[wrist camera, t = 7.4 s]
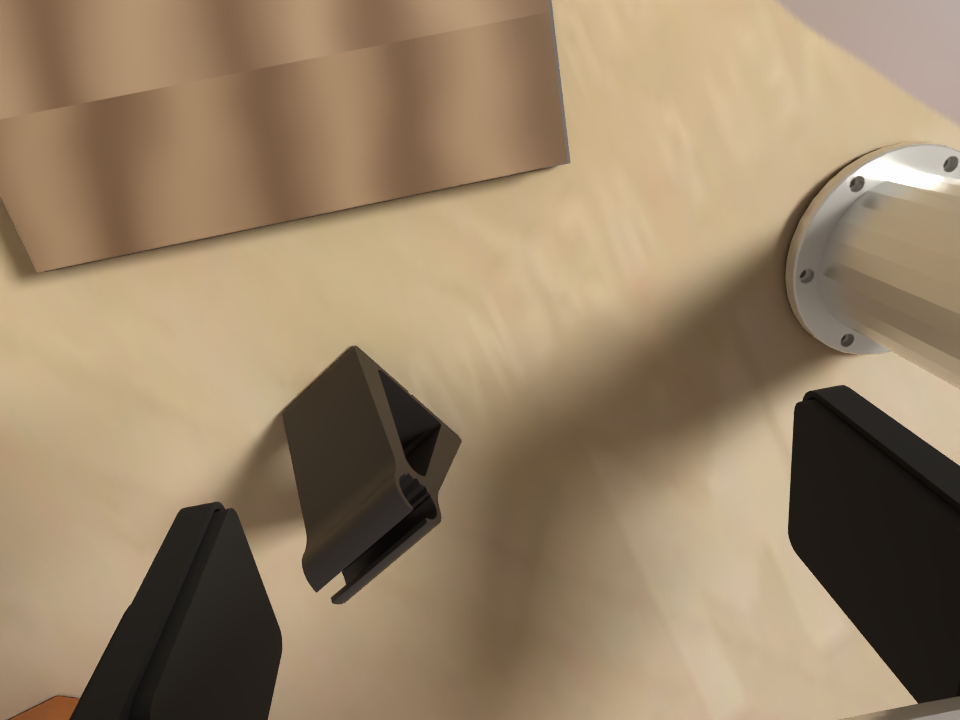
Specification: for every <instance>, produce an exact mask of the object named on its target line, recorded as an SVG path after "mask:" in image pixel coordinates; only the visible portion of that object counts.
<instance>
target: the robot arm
mask: <svg viewBox="0 0 960 720" xmlns="http://www.w3.org/2000/svg"><path fill="white" fill-rule="evenodd" d="M785 281H786V288H787V296H788V300H789V302H790V305H791V308H792V311H793V313H794V315H795V316H796V318H797V319H798V321H799V322H800V324H801V325H802V327H803V328H804V329H805V330H806V331H808V332H809V333H810V334H811V335H812V336H813V337H814V338H816V339H817V340H819V341H821V342H822V343H824V344H825V345H827V346H829V347H831V348H833V349H836V350H838V351H840V352H844V353H851V354H857V355H871V354H881V353H885V352H890V351H892V352H894V353H896V354H898V355H899V356H901V357H903V358H905V359H907V360H908V361H910V362H912V363H914V364H916V365H917V366H919V367H921V368H923V369H925V370H926V371H928V372H930V373H932V374H934V375H935V376H937V377H939V378H941V379H943V380H944V381H946V382H948V383H950V384H952V385H953V386H955V387H957V388H959V389H960V151H959V150H956V149H953V148H951V147H948V146H945V145H939V144H932V143H926V142H905V143H900V144H895V145H890V146H886V147H883V148H880V149H878V150H876V151H873V152H871V153H868V154H866V155H864V156H862V157H861V158H859V159H858V160H856V161H854V162H853V163H851V164H850V165H848V166H846V167H845V168H844V169H843V170H841V171H840V172H839V173H838V174H837V175H836V176H834V177H833V178H832V179H831V180H830V181H829V182H828V183H827V184H826V185H825V186H824V187H823V188H822V190H821V191H820V192H819V193H818V194H817V195H816V197H815V198H814V199H813V200H812V202H811V203H810V205H809V206H808V208H807V210H806V211H805V213H804V214H803V216H802V218H801V219H800V221H799V224H798V226H797V228H796V231H795V233H794V235H793V238H792V240H791V244H790V248H789V252H788V256H787V262H786V277H785ZM788 535H789V539H790V542H791V545H792V547H793V549H794V551H795V552H796V554H797V555H798V556H799V558H800V559H801V560H802V561H803V562H804V564H805V565H806V566H807V567H808V569H809V570H810V571H811V572H812V574H813V575H814V576H815V577H816V578H817V580H818V581H819V582H820V583H821V585H822V586H823V587H824V588H825V589H826V591H827V592H828V593H829V594H830V596H831V597H832V598H833V599H834V601H835V602H836V603H837V604H838V605H839V607H840V608H841V609H842V610H843V612H844V613H845V614H846V615H847V617H848V618H849V619H850V620H851V621H852V623H853V624H854V625H855V626H856V628H857V629H858V630H859V631H860V632H861V634H862V635H863V636H864V637H865V639H866V640H867V641H868V642H869V644H870V645H871V646H872V647H873V648H874V650H875V651H876V652H877V653H878V655H879V656H880V657H881V658H882V660H883V661H884V662H885V663H886V664H887V666H888V667H889V668H890V669H891V671H892V672H893V673H894V674H895V676H896V677H897V678H898V679H899V680H900V682H901V683H902V684H903V685H904V687H905V688H906V689H907V690H908V691H909V693H910V694H911V695H912V696H913V698H914V699H915V700H916V701H917V703H918V704H915V705H910V706H905V707H900V708H895V709H890V710H885V711H880V712H875V713H870V714H865V715H860V716H855V717H850V718H845V719H840V720H960V466H959V465H958V464H956V463H955V462H953V461H952V460H951V459H949V458H948V457H946V456H945V455H943V454H942V453H941V452H939V451H938V450H936V449H935V448H934V447H932V446H931V445H929V444H928V443H927V442H925V441H924V440H922V439H921V438H920V437H918V436H917V435H915V434H914V433H912V432H911V431H910V430H908V429H907V428H905V427H904V426H903V425H901V424H900V423H898V422H897V421H896V420H894V419H893V418H891V417H890V416H888V415H887V414H886V413H884V412H883V411H881V410H880V409H879V408H877V407H876V406H874V405H873V404H872V403H870V402H869V401H867V400H866V399H865V398H863V397H862V396H860V395H859V394H857V393H856V392H855V391H853V390H852V389H850V388H849V387H847V386H845V385H839V386H834V387H829V388H823V389H818V390H813V391H809V392H807V393H806V394H805V396H804V398H803V401H801V402H798V403H797V404H796V406H795V410H794V425H793V444H792V463H791V483H790V502H789V521H788ZM281 654H282V636H281V631H280V628H279V625H278V622H277V620H276V617H275V614H274V612H273V609H272V606H271V604H270V601H269V598H268V596H267V593H266V590H265V587H264V585H263V582H262V579H261V577H260V574H259V571H258V569H257V566H256V563H255V561H254V558H253V555H252V553H251V550H250V547H249V544H248V542H247V539H246V536H245V534H244V531H243V528H242V526H241V523H240V520H239V518H238V515H237V513H236V511H235V510H234V509H232V508H230V509H225V508H224V506H223V505H222V504H221V503H219V502H213V503H208V504H203V505H197V506H192V507H187V508H183V509H181V510H180V511H179V512H178V514H177V516H176V518H175V520H174V522H173V524H172V526H171V528H170V530H169V532H168V534H167V535H166V537H165V539H164V541H163V543H162V545H161V547H160V549H159V551H158V553H157V555H156V557H155V559H154V561H153V563H152V565H151V567H150V569H149V571H148V573H147V574H146V576H145V578H144V580H143V582H142V584H141V586H140V588H139V590H138V592H137V594H136V596H135V598H134V600H133V602H132V604H131V605H130V606H129V607H128V609H127V610H126V611H125V613H124V615H123V617H122V619H121V620H120V622H119V624H118V626H117V628H116V630H115V632H114V634H113V636H112V638H111V640H110V642H109V644H108V646H107V648H106V649H105V651H104V653H103V655H102V657H101V659H100V661H99V663H98V665H97V667H96V669H95V671H94V673H93V675H92V677H91V678H90V680H89V682H88V684H87V686H86V688H85V690H84V692H83V694H82V696H81V698H80V700H79V702H78V704H77V706H76V707H75V709H74V711H73V713H72V715H71V717H70V719H69V720H268V716H269V711H270V706H271V701H272V697H273V692H274V687H275V682H276V678H277V673H278V668H279V664H280V659H281Z"/></svg>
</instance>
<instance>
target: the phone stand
mask: <svg viewBox="0 0 960 720" xmlns="http://www.w3.org/2000/svg"><path fill="white" fill-rule="evenodd" d="M282 415H283V420H284V425H285V430H286V435H287V440H288V445H289V450H290V455H291V459H292V464H293V469H294V474H295V479H296V484H297V489H298V494H299V499H300V504H301V509H302V514H303V518H304V523H305V528H306V534H307V544H306V549H305V552H304V554H303V557H302V567H303V571H304V574H305V577H306V579H307V581H308V582H309V584H310V585H311V587H312V588H313V589H314V591H315V592H316V593H317V592H318V591H319V590H320V589H321V588H323V587H324V586H325V585H326V584H327V583H328V582H330V581H331V580H332V579H333V578H334V577H335V576H337V575H338V574H339V573H340V572H341V571H342V574H343V576H344V578H345V582H346V585H345V586H344V587H343V588H342V589H341V590H340V591H338V592H337V593H336V594H335V595H334V596H332V597H331V600H332V603H333V604H343V603H345V602H346V601H348V600H349V599H350V598H351V597H352V596H353V595H355V594H356V593H357V592H358V591H359V590H361V589H362V588H363V587H364V586H365V585H367V584H368V583H369V582H370V581H371V580H372V579H374V578H375V577H376V576H377V575H378V574H380V573H381V572H382V571H383V570H384V569H386V568H387V567H388V566H389V565H390V564H392V563H393V562H394V561H395V560H396V559H397V558H399V557H400V556H401V555H402V554H403V553H405V552H406V551H407V550H408V549H409V548H411V547H412V546H413V545H414V544H415V543H416V542H418V541H419V540H420V539H421V538H422V537H424V536H425V535H426V534H427V533H428V532H430V531H431V530H432V529H433V528H434V527H435V526H437V525H438V524H439V523H440V521H441V512H440V509H439V505H438V492H439V489H440V487H441V485H442V483H443V481H444V479H445V476H446V474H447V472H448V470H449V468H450V466H451V463H452V461H453V459H454V457H455V455H456V453H457V450H458V448H459V446H460V444H461V442H462V441H461V439H460V437H459V436H458V435H457V434H456V433H455V432H453V431H452V430H451V429H450V428H449V427H448V426H447V425H446V424H444V423H443V422H442V421H441V420H440V419H439V418H438V417H437V416H435V415H434V414H433V413H432V412H431V411H430V410H429V409H427V408H426V407H425V406H424V405H423V404H422V403H421V402H420V401H418V400H417V399H416V398H415V397H414V396H413V395H410V394H409V393H408V391H407V390H406V389H405V388H404V387H403V386H401V385H400V384H399V383H398V382H397V381H396V380H395V379H394V378H392V377H391V376H390V375H389V374H388V373H387V372H386V371H385V370H383V369H382V368H381V367H380V366H379V365H378V364H377V363H376V362H374V361H373V360H372V359H371V358H370V357H369V356H368V355H366V354H365V353H364V352H363V351H362V350H361V349H360V348H359V347H357V346H354V347H353V348H352V349H350V350H349V351H348V352H347V353H346V354H345V355H344V356H343V357H342V358H341V359H340V360H339V361H338V362H337V363H336V364H334V365H333V366H332V367H331V368H330V369H329V370H328V371H327V372H326V373H325V374H324V375H323V376H322V377H321V378H320V379H318V380H317V381H316V382H315V383H314V384H313V385H312V386H311V387H310V388H309V389H308V390H307V391H306V392H305V393H304V394H303V395H301V396H300V397H299V398H298V399H297V400H296V401H295V402H294V403H293V404H292V405H291V406H290V407H289V408H288V409H287V410H285V411H284V412H283V413H282Z"/></svg>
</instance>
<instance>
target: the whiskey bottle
mask: <svg viewBox="0 0 960 720" xmlns="http://www.w3.org/2000/svg"><path fill="white" fill-rule="evenodd" d="M78 702H79V700H78V699H77V698H69V697H61V696H56V697H54V698H52V699H50V700H48V701H46V702H44V703H42V704H40V705H38V706H36V707H34V708H32V709H30V710H28V711H26V712H24V713H22V714H20V715H18V716H16V717H14V718H12V719H10V720H69V719H70V717H71V715H72V713H73V711H74V709H75V707H76V706H77V704H78Z"/></svg>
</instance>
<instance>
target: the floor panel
mask: <svg viewBox="0 0 960 720" xmlns="http://www.w3.org/2000/svg"><path fill="white" fill-rule="evenodd" d="M568 163H570V155H569V147H568V138H567V130H566V121H565V113H564V104H563V96H562V87H561V79H560V70H559V62H558V53H557V44H556V36H555V27H554V19H553V10H552V2H551V0H0V197H1V199H2V201H3V203H4V205H5V208H6V210H7V212H8V214H9V216H10V218H11V220H12V222H13V224H14V226H15V228H16V230H17V232H18V235H19V237H20V239H21V241H22V243H23V245H24V247H25V249H26V251H27V253H28V255H29V257H30V259H31V262H32V264H33V266H34V268H35V270H36V272H37V273H38V272H43V271H44V272H47V271H51V270H56V269H61V268H66V267H71V266H76V265H80V264H85V263H90V262H95V261H100V260H105V259H109V258H114V257H119V256H124V255H129V254H134V253H138V252H143V251H148V250H153V249H158V248H163V247H167V246H172V245H177V244H182V243H187V242H191V241H196V240H201V239H206V238H211V237H216V236H220V235H225V234H230V233H235V232H240V231H245V230H249V229H254V228H259V227H264V226H269V225H274V224H278V223H283V222H288V221H293V220H298V219H303V218H307V217H312V216H317V215H322V214H327V213H332V212H336V211H341V210H346V209H351V208H356V207H360V206H365V205H370V204H375V203H380V202H385V201H389V200H394V199H399V198H404V197H409V196H414V195H418V194H423V193H428V192H433V191H438V190H443V189H447V188H452V187H457V186H462V185H467V184H472V183H476V182H481V181H486V180H491V179H496V178H501V177H505V176H510V175H515V174H520V173H525V172H529V171H534V170H539V169H544V168H549V167H554V166H558V165H563V164H568Z"/></svg>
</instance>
